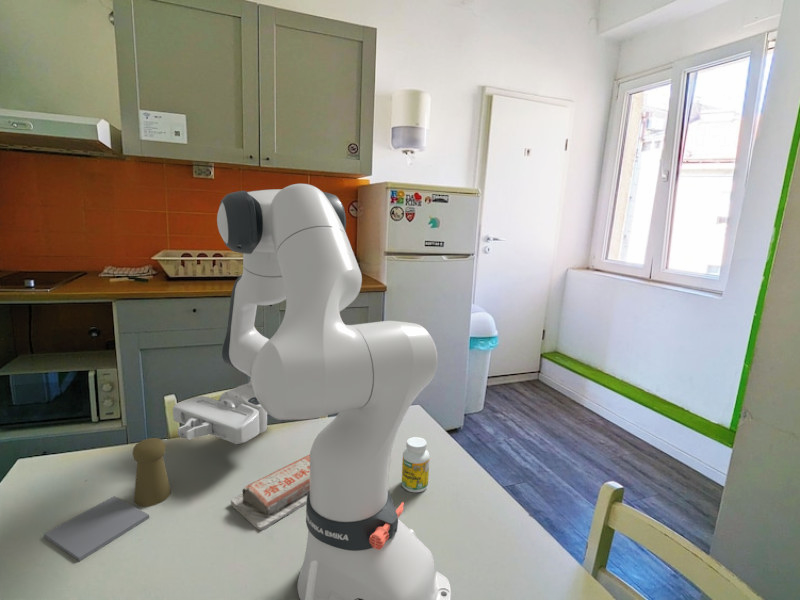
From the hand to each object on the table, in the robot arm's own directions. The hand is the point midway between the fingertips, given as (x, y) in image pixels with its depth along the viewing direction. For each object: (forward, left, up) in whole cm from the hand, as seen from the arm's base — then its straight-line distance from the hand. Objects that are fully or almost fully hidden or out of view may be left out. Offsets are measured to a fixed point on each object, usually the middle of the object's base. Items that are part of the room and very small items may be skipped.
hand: (182, 434), depth 85 cm
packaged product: (-21, -6, -10) cm, 24 cm away
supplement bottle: (-41, -21, -10) cm, 47 cm away
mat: (0, +16, -9) cm, 19 cm away
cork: (0, +7, -10) cm, 12 cm away
